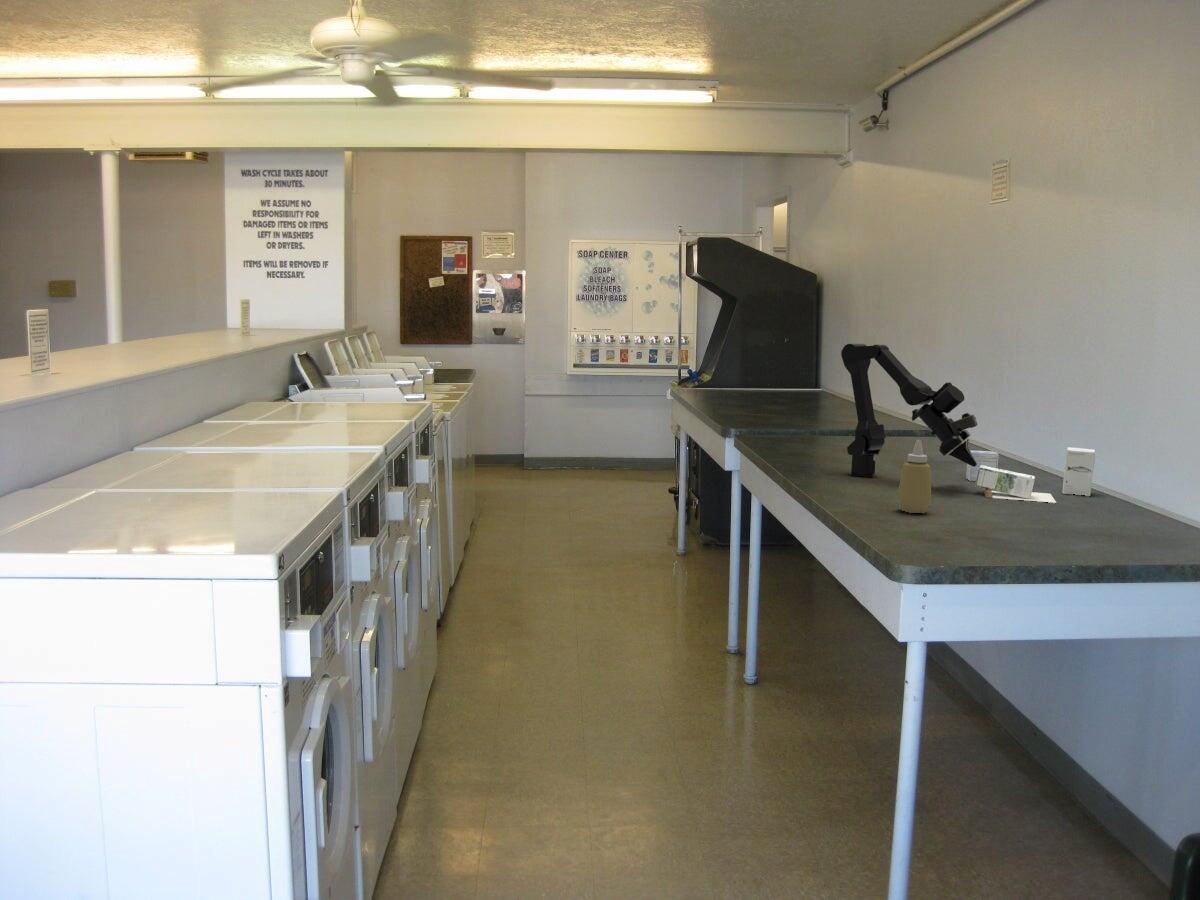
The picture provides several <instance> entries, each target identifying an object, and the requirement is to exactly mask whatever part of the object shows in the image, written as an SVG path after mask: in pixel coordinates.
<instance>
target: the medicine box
mask: <svg viewBox="0 0 1200 900" xmlns="http://www.w3.org/2000/svg"><path fill="white" fill-rule="evenodd" d="M970 451H971V453H972V455H973V457H974V459H975V461H976V463H977V465H976V466H975V467H973V466H971V465H969V464H967V463H966V471H965V472H966V473H965V479H966V480H967V479H968V480H969V482H976V479H977V475H978V471H979V467H980V465H985V466H989V467H994V468H998V467H999V466H998V465H999V464H998V463H999V456H1000V454H999V453H998V452H996V451H988V450H971V449H970ZM968 480H967V481H968Z"/></svg>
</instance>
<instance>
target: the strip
mask: <svg viewBox="0 0 1200 900" xmlns="http://www.w3.org/2000/svg"><path fill="white" fill-rule="evenodd" d="M982 491H984V492H983V495H984V494H985V495H984V498H992V490H987V489H983V488H982ZM992 499H993V498H992Z"/></svg>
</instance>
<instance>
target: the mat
mask: <svg viewBox="0 0 1200 900" xmlns="http://www.w3.org/2000/svg"><path fill="white" fill-rule="evenodd" d="M992 499H994V500H995V499H996V500H1006V499H1008V500H1010V501H1018V500H1024V501H1023V502H1030V501H1037V502H1036V503H1042V502H1048V503H1047V504H1055V503H1056V504H1057V501H1056V500H1055V498H1054V497H1053V495H1052V494H1051V493H1047V492H1035V491H1034V492H1033V491H1032V494H1031V497H1030V498H1023V497H1019V496H1014V495H1010V494H1005V493H1001V492H997V491H992Z"/></svg>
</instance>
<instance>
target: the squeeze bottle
mask: <svg viewBox="0 0 1200 900" xmlns="http://www.w3.org/2000/svg"><path fill="white" fill-rule="evenodd" d="M927 462H928V455H927V454H924V452H923V443H922V439H916V441H915V444H914V447H913V450H912V453H909V454H907V462H904V463H903V464H902V470H901V474H900V481H899V485H898V490H897V501H898V503H899V508H900V511H901V510H902V511H901V512H903V511H905V512H904V513H906V512H910V513H909V514H911V513H922V514H926V512H927V510H928V508H929V505H930V503H931V501H932V479H931V477H932V476H931V475H932V473H931V472H932V471H931V469H932V468H931V466H930V465H929V464H928V463H927Z"/></svg>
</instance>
